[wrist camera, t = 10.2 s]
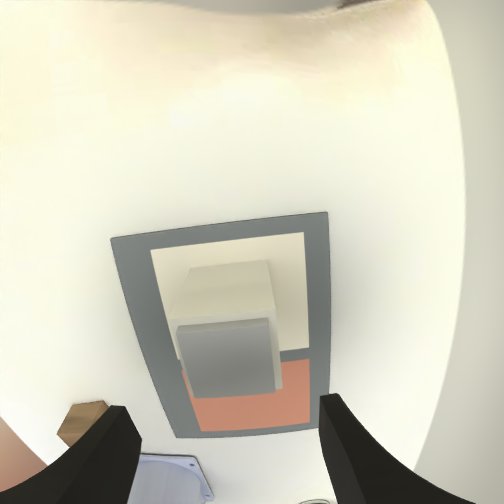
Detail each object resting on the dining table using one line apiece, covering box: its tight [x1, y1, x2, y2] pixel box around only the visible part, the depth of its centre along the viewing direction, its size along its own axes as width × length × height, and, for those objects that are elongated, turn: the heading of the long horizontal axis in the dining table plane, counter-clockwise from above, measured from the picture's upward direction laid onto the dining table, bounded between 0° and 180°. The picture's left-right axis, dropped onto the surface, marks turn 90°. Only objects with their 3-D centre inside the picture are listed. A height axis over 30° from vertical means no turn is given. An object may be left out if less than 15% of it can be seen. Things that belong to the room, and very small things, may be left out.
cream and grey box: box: [169, 259, 283, 399], centre depth 16 cm, size 4×4×7 cm
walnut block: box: [57, 400, 109, 447], centre depth 22 cm, size 4×4×4 cm
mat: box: [110, 212, 331, 438], centre depth 21 cm, size 18×13×1 cm
